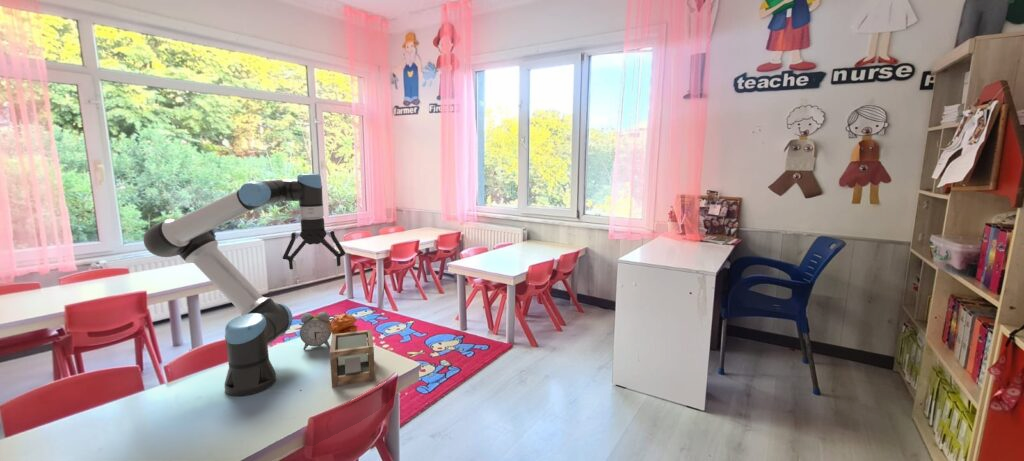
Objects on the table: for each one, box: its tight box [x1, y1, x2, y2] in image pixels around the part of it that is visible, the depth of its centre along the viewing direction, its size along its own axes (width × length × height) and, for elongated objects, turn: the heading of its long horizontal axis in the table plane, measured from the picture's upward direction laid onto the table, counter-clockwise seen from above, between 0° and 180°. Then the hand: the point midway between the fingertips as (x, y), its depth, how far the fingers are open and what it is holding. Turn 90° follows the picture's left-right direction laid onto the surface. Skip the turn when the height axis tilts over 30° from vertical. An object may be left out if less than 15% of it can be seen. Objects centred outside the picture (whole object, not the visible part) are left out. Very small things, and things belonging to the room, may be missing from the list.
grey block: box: [344, 357, 362, 375], centre depth 151 cm, size 5×5×6 cm
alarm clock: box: [299, 311, 332, 351], centre depth 175 cm, size 12×7×15 cm, turn 104°
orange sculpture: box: [330, 311, 359, 335], centre depth 166 cm, size 11×11×18 cm
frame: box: [329, 329, 376, 388], centre depth 154 cm, size 14×16×12 cm
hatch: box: [337, 334, 368, 367], centre depth 156 cm, size 10×10×1 cm
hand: (316, 276), depth 154 cm, fingers open, 13 cm apart
